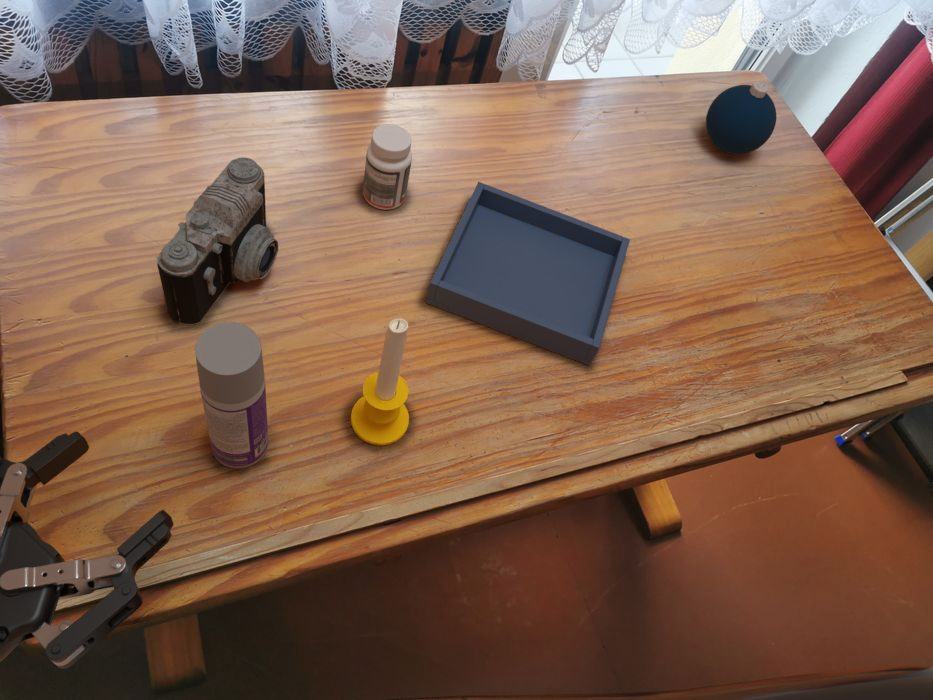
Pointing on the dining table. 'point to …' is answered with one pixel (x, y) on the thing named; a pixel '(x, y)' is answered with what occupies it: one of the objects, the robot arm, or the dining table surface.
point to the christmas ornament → (741, 118)
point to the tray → (530, 273)
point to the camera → (218, 243)
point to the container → (233, 393)
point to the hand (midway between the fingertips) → (125, 477)
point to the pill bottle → (387, 167)
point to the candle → (384, 394)
